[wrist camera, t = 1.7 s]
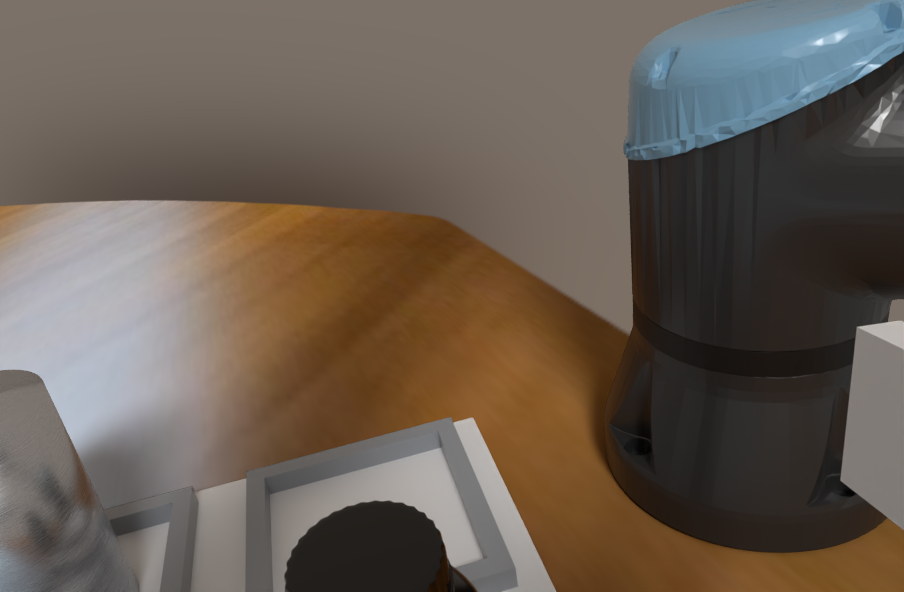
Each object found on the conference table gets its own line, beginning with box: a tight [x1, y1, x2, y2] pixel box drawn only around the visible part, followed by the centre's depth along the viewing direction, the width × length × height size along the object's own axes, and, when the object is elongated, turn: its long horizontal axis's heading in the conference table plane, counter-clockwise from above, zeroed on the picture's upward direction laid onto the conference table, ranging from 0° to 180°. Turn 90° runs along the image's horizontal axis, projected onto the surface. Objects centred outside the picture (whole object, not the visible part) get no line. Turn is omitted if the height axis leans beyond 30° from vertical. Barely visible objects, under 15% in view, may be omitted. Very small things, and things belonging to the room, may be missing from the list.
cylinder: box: [0, 370, 139, 592], centre depth 32 cm, size 7×7×12 cm
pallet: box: [104, 417, 556, 592], centre depth 36 cm, size 30×14×2 cm, turn 104°
